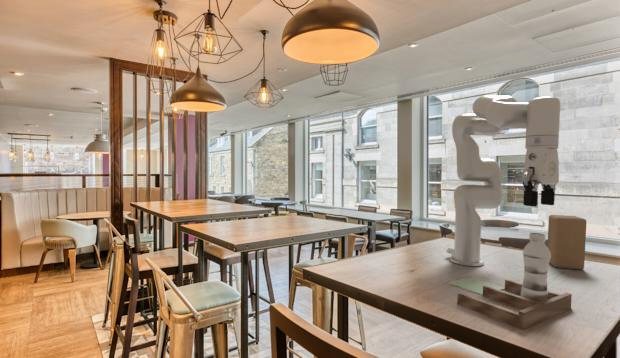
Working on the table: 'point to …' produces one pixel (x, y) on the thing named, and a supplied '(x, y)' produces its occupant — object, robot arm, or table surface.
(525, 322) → the bottle rack
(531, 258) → the plastic bottle
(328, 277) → the table surface
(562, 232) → the block
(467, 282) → the mat
